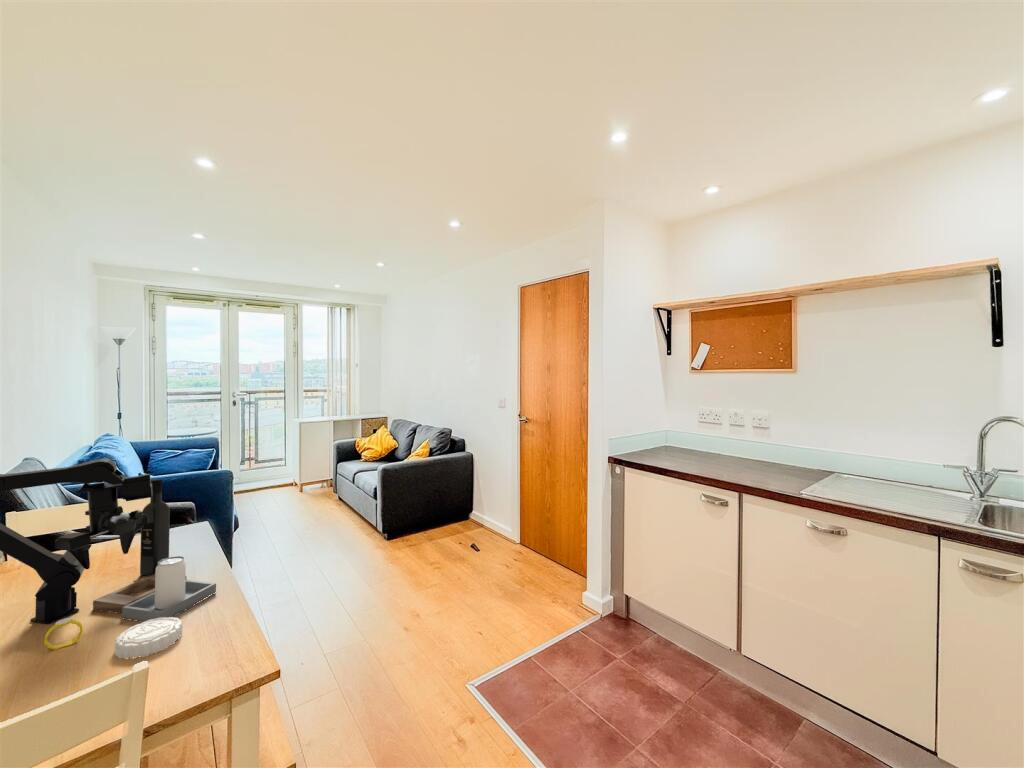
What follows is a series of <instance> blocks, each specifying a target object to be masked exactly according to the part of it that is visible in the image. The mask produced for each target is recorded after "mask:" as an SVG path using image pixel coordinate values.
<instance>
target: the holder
mask: <svg viewBox="0 0 1024 768" xmlns="http://www.w3.org/2000/svg"><path fill="white" fill-rule="evenodd" d="M150 587H151V588H152V589H150V590H148V591H146V592H144V593H141V594H139V595H137V596H136V595H135V594H137V593H139V592H141V591H144V590H145V588H146V589H148V588H150ZM154 592H155V574H153V575H151V576H147V577H146V576H145V577H144V578H142V579H139V580H138V581H135V582H133V583H130V584H128V585H126V586H124V587H121V588H118V589H117V590H115V591H112V592H110V593H108V594H105V595H103V596H100V597H98V598H95V599H93V601H92V602H93V603H92V609H95V610H94V611H99V610H102V611H101V612H106V611H111V612H110V613H113V612H117V613H116V614H121V613H122V607H124V606H126V605H128V604H131V603H133V602H135V601H137V600H139V599H141V598H143V597H145V596H147V595H150V594H152V593H154ZM132 594H133V595H132Z"/></svg>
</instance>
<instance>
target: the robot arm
mask: <svg viewBox="0 0 1024 768" xmlns="http://www.w3.org/2000/svg"><path fill="white" fill-rule="evenodd" d="M151 480H152V478H151V473H145V474H142V475H135V476H129V477H127V476H126V475H125V473H123V472H121V470H119V469H118V467H117V464H116V462H115V461H113V460H112V459H110V458H103V457H102V458H97V459H94V460H91V461H86V462H81V463H78V464H74V465H70V466H67V467H66V466H65V467H59V468H58V467H56V468H49V469H48V468H47V469H41V470H31V471H24V472H23V471H21V472H15V473H7V474H6V473H5V474H3V473H0V492H3V491H4V492H5V491H11V490H18V489H19V490H20V489H27V488H34V487H43V486H47V485H48V486H49V485H57V484H64V483H65V484H66V483H75V484H76V483H77V484H83V485H82V486H81V487H80V488H78V490H77V491H76V493H77V494H82V493H87V503H88V510H86V511H84V513H85V514H84V515H85V516H88V519H89V525H86V527H85V528H86V531H87V532H76V531H75V532H71V533H68V534H66V535H61V536H59V537H57V539H55V541H54V549H55V550H62V551H65V552H64V553H63V554H62V553H55V552H52V551H50V550H48V549H47V548H45V547H43V546H41V545H40V544H39V543H36V542H34V541H32V540H31V539H29V538H28V537H26V536H24V535H23V534H20V533H19V532H16V531H15V530H14V529H12V528H10V527H9V526H6V525H5V524H3V523H1V522H0V552H2V553H4V554H5V555H7V556H9V557H12V559H14V560H17V561H18V562H21V563H22V564H24V565H26V566H28V567H29V568H31V569H33V570H34V571H35V572H36V573H37V575H38V576H39V578H40V579H41V580H42V581H43V583H42V584H41V586H40V587H39V589H38V590H37V592H36V593H35V616H34V617H31V618H30V622H33V623H39V624H40V623H41V624H46V625H47V624H48V625H49V624H53V623H56V622H57V621H59V620H62V619H65V618H67V617H69V616H71V615H74V614H76V613H77V612H79V611H80V608H77V597H78V596H77V595H78V594H77V593H78V592H77V591H76V587H75V585H76V584H77V583H78V582H79V581H80V579H81V577H82V575H83V572H84V571H85V570H89V569H90V567H91V562H90V561H91V560H90V552H89V551H90V548H91V546H93V544H90V542H91V539H94V538H96V537H99V536H102V535H103V536H104V535H106V534H108V533H111V534H113V535H114V536H119V541H120V547H121V551H122V553H123V554H124V555H127V554H129V551H130V549H131V545H132V543H133V540H134V538H135V536H136V534H137V533H138V532H139V531H141V528H143V527H144V526H142V525H145V524H148V523H149V522H148V517H147V515H145V514H142V511H143V510H140V509H136V510H133V511H130V512H126V513H125V512H124V509H123V506H121V505H119V502H118V500H119V499H121V500H123V501H124V500H125V502H132V501H137V500H145V499H149V498H151V497H152V495H153V492H152V483H151ZM118 488H119V497H120V498H119V499H118Z"/></svg>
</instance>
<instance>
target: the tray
mask: <svg viewBox="0 0 1024 768" xmlns="http://www.w3.org/2000/svg"><path fill="white" fill-rule="evenodd" d="M215 592H216V593H217V583H216V582H208V581H207V582H206V581H201V580H200V581H199V580H191V579H186V581H185V598H184V599H182V600H181V601H179V602H177V603H175V604H173V605H171V606H169V607H167V608H165V609H163V610H159V609H156V608H155V592H154V593H152V594H150V595H147V596H145V597H143V598H141V599H139V600H137V601H135V602H133V603H131V604H128V605H126V606H124V607H122V614H121V619H122V618H124V619H123V620H125V619H131V620H130V621H132V620H137V621H136V622H139V621H143V622H145V621H148V620H150V619H156V618H159V617H162V618H163V617H166V618H168V617H173V616H175V615H176V614H178V613H180V612H182V611H184V610H185V609H187V610H189V609H190V608H189V607H191V606H193V605H194V604H196V603H197V602H199V601H201V600H203V599H204V598H206V597H208V596H209V595H211V594H213V593H215ZM196 605H197V604H196ZM193 607H194V606H193ZM188 608H189V609H188ZM191 608H192V607H191ZM184 612H185V611H184ZM182 613H183V612H182ZM180 614H181V613H180ZM178 615H179V614H178ZM175 617H176V616H175ZM143 622H142V623H143Z"/></svg>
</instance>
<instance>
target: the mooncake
mask: <svg viewBox="0 0 1024 768" xmlns="http://www.w3.org/2000/svg"><path fill="white" fill-rule="evenodd" d="M182 620H183V619H180V618H178V617H176V616H175V617H168V618H166V617H163V618H162V617H159V618H156V619H150V620H148V621H145V622H140V623H138V624H135V625H132V626H131V627H130V628H127V629H126V630H124V631H123V632H122V633H120V634H119V636H118V637H116V639H115V647H114V656H116V657H117V658H118V659H123V658H124V660H127V659H126V658H129V657H131V658H133V657H134V658H135V657H139V656H146V657H148V656H150V655H154V654H153V653H155V654H157V652H158V651H159V652H161V651H162V650H161V649H164V650H166V649H167V648H166V647H168V646H169V645H170V644H173V643H174V642H175V641H176V640H177V639H178V638H180V639H181V636H180V635H181V634H182V635H183V621H182ZM176 642H177V641H176ZM176 642H175V643H176ZM173 645H174V644H173ZM169 647H170V646H169ZM169 647H168V648H169ZM165 648H166V649H165ZM159 652H158V653H159ZM149 654H150V655H149ZM131 658H130V659H131ZM139 658H140V657H139Z"/></svg>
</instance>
